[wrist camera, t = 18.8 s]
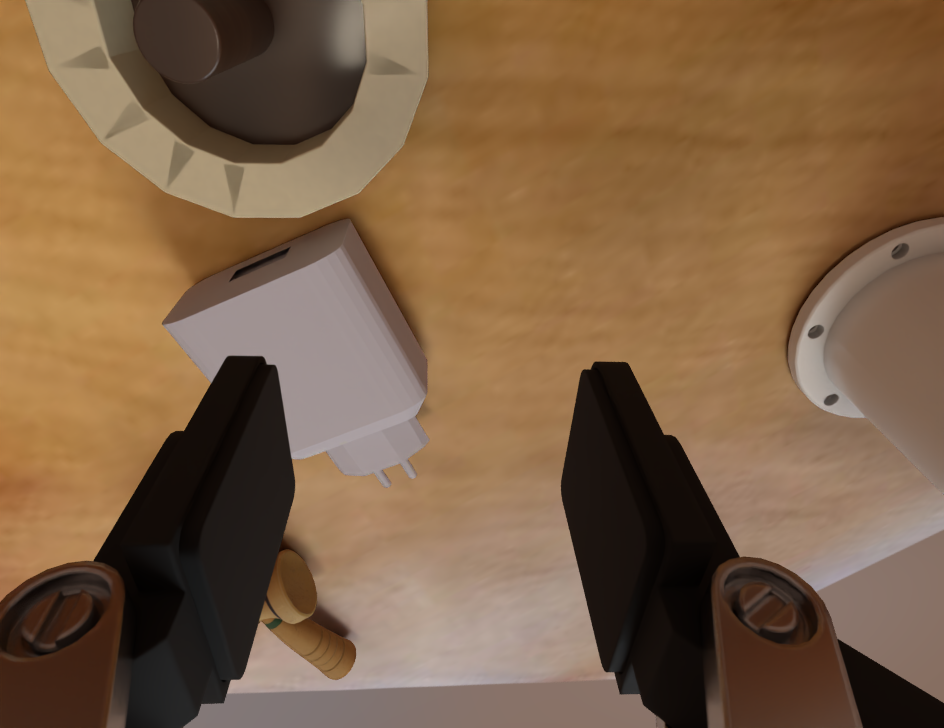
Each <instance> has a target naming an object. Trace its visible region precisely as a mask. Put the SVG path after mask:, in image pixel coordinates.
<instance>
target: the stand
mask: <svg viewBox="0 0 944 728" xmlns="http://www.w3.org/2000/svg"><path fill="white" fill-rule="evenodd" d="M131 2H132V6H133V10H134V17H133V31H134V36H135V39H136V43H137V45H138V47H139V50H140V51H141V53H142V55H143V56H144V58H145V59H146V61H147V62H148V63H149V64H150V65H151V66H152V67H153V68H154V69H155V70H156V71H157V72H158V73H159V74H160V76H161V77H162V79H163V81H164V82H165V84H166V85H167V87H168V89H169V90H170V92H171V93H172V95H174V96H175V97H176V98H177V99H178V100H179V101H181V102H182V103H183V104H184V105H185V106H186V107H188V108H189V109H190V110H191V111H192V112H193V113H195V114H196V115H197V116H198V117H199V118H200V119H202V120H203V121H204V122H205V123H206V124H207V125H208V126H210V127H211V128H214V129H216V130H219V131H221V132H224V133H226V134H229V135H231V136H234V137H236V138H239V139H241V140H244V141H246V142H249V143H251V144H262V145H296V144H298V143H300V142H303V141H305V140H307V139H310V138H312V137H314V136H316V135H319V134H321V133H323V132H325V131H328V130H330V129H332V128H333V127H334V126H335V124H336V123H337V122H338V121H339V120H340V119H341V117H342V116H343V115H344V114H345V113H346V112H347V111H348V109H349V108H350V107H351V106H352V105H353V104H354V101H355V97H356V94H357V91H358V88H359V84H360V81H361V78H362V75H363V72H364V68H365V65H366V47H365V32H364V17H363V4H362V2H361V0H131Z"/></svg>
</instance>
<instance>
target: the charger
mask: <svg viewBox="0 0 944 728" xmlns="http://www.w3.org/2000/svg"><path fill="white" fill-rule="evenodd" d="M162 325H163V326H164V327H165V328H166V329H167V331H168V332H169V333H170V334H171V335H172V337H173V338H174V339H175V340H176V341H177V343H178V344H179V345H180V346H181V347H182V349H183V350H184V351H185V352H186V353H187V355H188V356H189V357H190V358H191V359H192V361H193V362H194V363H195V364H196V365H197V367H198V368H199V369H200V370H201V372H202V373H203V374H204V375H205V376H206V378H207V379H208V380H209V381H210V382H211V383H212V381H213V379H214V378H215V376H216V374H217V372H218V371H219V369H220V367H221V365H222V364H223V362H224V360H225V359H226V357H227V356H263V357H264V358H265V360H266V363H267V364H268V365H276V367H277V370H278V375H279V381H280V388H281V394H282V401H283V407H284V413H285V420H286V426H287V432H288V439H289V445H290V452H291V458H292V459H304V458H307V457H310V456H313V455H316V454H318V453H321V452H324V451H326V453H327V454H328V455H329V457H330V458H331V459H332V461H333V462H334V463H335V465H336V466H337V467H338V469H339V470H340V471H341V472H342V473H343V474H345V475H353V476H366V475H369V474H372V473H374V474H375V475H376V477H377V478H378V480H379V481H380V482H381V484H382V485H383V487H386V488H387V487H389V486H390V485H391V482H390V480H389V479H388V477H387V476H386V474H385V473H384V472H383V469H386V468H389V467H391V466H394V465H397V464H401V466H402V467H403V469H404V470H405V472H406V473H407V475H408V476H409V478H415V477H416V476H417V473H416V471H415V469H414V468H413V466H412V465H411V463H410V462H409V460H408V458H409V457H411V456H412V455H414V454H415V453H416V452H418V451H419V450H420V449H422V448H423V447H424V446H425V445H426V444H427V443H428V441H429V438H428V437H427V435H426V433H425V432H424V430H423V428H422V427H421V425H420V423H419V422H418V420H417V418H416V417H415V416H416V415H417V413H418V411H419V409H420V407H421V405H422V403H423V401H424V399H425V397H426V395H427V358H426V357H425V355H424V353H423V351H422V349H421V348H420V346H419V344H418V342H417V340H416V338H415V337H414V335H413V333H412V331H411V329H410V328H409V326H408V324H407V322H406V320H405V319H404V317H403V315H402V313H401V311H400V309H399V308H398V306H397V304H396V302H395V300H394V299H393V297H392V295H391V293H390V291H389V289H388V288H387V286H386V284H385V282H384V280H383V279H382V277H381V275H380V273H379V271H378V269H377V268H376V266H375V264H374V262H373V260H372V259H371V257H370V255H369V253H368V251H367V250H366V248H365V246H364V244H363V242H362V240H361V239H360V237H359V235H358V233H357V231H356V230H355V228H354V226H353V224H352V222H351V220H350V219H343V220H340V221H337V222H334V223H331V224H328V225H326V226H324V227H321V228H319V229H317V230H314V231H312V232H310V233H307V234H305V235H303V236H301V237H298V238H296V239H294V240H291V241H289V242H287V243H285V244H282V245H280V246H278V247H276V248H273V249H271V250H269V251H266V252H264V253H262V254H260V255H257V256H255V257H253V258H251V259H248V260H246V261H244V262H241V263H239V264H237V265H235V266H232V267H230V268H228V269H226V270H223V271H221V272H219V273H217V274H214V275H212V276H210V277H208V278H206V279H204V280H203V281H201V282H199V283H197V284H196V285H194V286H193V287H191V288H190V289H188V290H187V291H186V292H185V293H184V295H183V296H182V297H181V299H180V300H179V301H178V302H177V304H176V305H175V306H174V308H173V309H172V310H171V312H170V313H169V314H168V315H167V317H166V318H165V319H164V321H163V322H162Z"/></svg>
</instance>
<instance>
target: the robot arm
mask: <svg viewBox="0 0 944 728" xmlns="http://www.w3.org/2000/svg"><path fill="white" fill-rule="evenodd" d="M788 364H789V368H790V371H791V375H792V378H793V379H794V381H795V383H796V384H797V386H798V387H799V389H800V390H801V391H802V392H803V393H804V394H805V395H806V396H807V397H808V399H809V400H810V401H811V402H812V403H814V404H815V405H816V406H818V407H819V408H821V409H823V410H825V411H828V412H830V413H833V414H836V415H839V416H845V417H852V418H867V419H868V420H869V421H870V422H871V423H872V424H873V425H874V426H875V427H876V428H877V429H878V430H879V431H880V432H881V433H882V434H883V435H884V436H885V437H886V438H887V439H888V440H889V441H890V442H891V443H892V444H893V445H894V446H895V447H896V448H897V449H898V450H899V451H900V452H901V453H902V454H903V455H904V456H905V457H906V458H907V459H908V460H909V461H910V462H911V463H912V464H913V465H914V466H915V467H916V468H917V469H918V470H919V471H920V472H921V473H922V474H923V475H924V476H925V477H926V478H927V479H928V480H929V481H930V482H931V483H932V484H933V485H934V486H935V487H936V488H937V489H938V490H939V491H940V492H941V493H942V494H943V495H944V217H939V218H933V219H928V220H922V221H917V222H914V223H911V224H908V225H905V226H902V227H899V228H896V229H893V230H891V231H889V232H887V233H885V234H883V235H881V236H879V237H877V238H875V239H873V240H871V241H869V242H867V243H866V244H865V245H863V246H862V247H860V248H859V249H857V250H856V251H854V252H853V253H851V254H850V255H848V256H847V257H846V258H845V259H843V260H842V261H841V262H840V263H839V264H838V265H837V266H835V267H834V268H833V269H832V270H831V271H830V272H829V273H828V274H827V275H826V276H825V277H824V278H823V279H822V281H821V282H820V283H819V284H818V285H817V286H816V287H815V289H814V290H813V291H812V292H811V294H810V296H809V297H808V299H807V300H806V302H805V303H804V305H803V306H802V308H801V309H800V311H799V314H798V316H797V318H796V321H795V323H794V325H793V327H792V331H791V335H790V340H789V344H788ZM294 492H295V477H294V471H293V464H292V458H291V452H290V445H289V439H288V432H287V426H286V420H285V413H284V407H283V401H282V394H281V388H280V381H279V375H278V370H277V367H276V365H268V364H267V363H266V360H265V358H264V357H263V356H227V357H226V359H225V360H224V362H223V364H222V365H221V367H220V369H219V371H218V372H217V374H216V376H215V378H214V379H213V381H212V383H211V385H210V386H209V388H208V390H207V392H206V393H205V395H204V397H203V399H202V400H201V402H200V404H199V406H198V407H197V409H196V411H195V413H194V415H193V416H192V418H191V420H190V422H189V423H188V425H187V427H186V429H185V430H184V431H175V432H173V433H171V434H170V435H169V437H168V438H167V439H166V440H165V442H164V444H163V445H162V447H161V449H160V450H159V452H158V454H157V455H156V457H155V459H154V460H153V462H152V464H151V465H150V467H149V469H148V470H147V472H146V474H145V475H144V477H143V479H142V480H141V482H140V484H139V485H138V487H137V489H136V490H135V492H134V494H133V496H132V497H131V499H130V501H129V502H128V504H127V506H126V507H125V509H124V511H123V512H122V514H121V516H120V517H119V519H118V521H117V522H116V524H115V526H114V527H113V529H112V531H111V532H110V534H109V536H108V537H107V539H106V541H105V542H104V544H103V546H102V547H101V549H100V551H99V552H98V554H97V556H96V557H95V559H94V561H81V562H72V563H66V564H63V565H60V566H57V567H54V568H51V569H47V570H45V571H43V572H41V573H40V574H38V575H36V576H34V577H32V578H30V579H28V580H26V581H25V582H23V583H22V584H21V585H19V586H18V587H17V588H15V589H14V590H13V591H11V592H10V593H9V594H7V595H6V597H5V598H4V599H3V600H2V601H1V602H0V728H183V727H184V726H185V725H186V724H187V723H189V722H190V721H191V720H193V719H194V718H195V717H196V716H197V715H198V713H199V710H200V706H201V704H214V703H224V701H225V697H226V694H227V691H228V687H229V684H230V681H231V680H239V679H241V678H242V676H243V674H244V672H245V669H246V666H247V662H248V658H249V655H250V651H251V648H252V644H253V641H254V637H255V634H256V630H257V627H258V623H259V619H260V616H261V612H262V609H263V605H264V602H265V598H266V595H267V591H268V587H269V584H270V580H271V577H272V573H273V570H274V566H275V563H276V559H277V556H278V552H279V548H280V545H281V541H282V538H283V534H284V531H285V527H286V524H287V520H288V517H289V513H290V509H291V506H292V502H293V498H294ZM561 495H562V501H563V505H564V509H565V514H566V518H567V522H568V526H569V530H570V534H571V539H572V543H573V547H574V551H575V555H576V560H577V564H578V568H579V572H580V576H581V580H582V585H583V589H584V593H585V597H586V601H587V606H588V610H589V614H590V618H591V622H592V626H593V631H594V635H595V639H596V643H597V647H598V652H599V656H600V660H601V663H602V667H603V669H604V671H605V672H614V673H615V677H616V681H617V685H618V688H619V692H620V694H640V695H641V699H642V702H643V705H644V706H645V707H646V708H648V709H649V710H650V711H651V712H653V713H654V714H655V715H656V728H944V703H943V702H941V701H939V700H938V699H936V698H935V697H933V696H931V695H930V694H928V693H926V692H925V691H923V690H921V689H919V688H918V687H916V686H915V685H913V684H911V683H910V682H908V681H906V680H905V679H903V678H901V677H900V676H898V675H896V674H895V673H893V672H892V671H889V670H888V669H886V668H885V667H883V666H881V665H880V664H878V663H877V662H875V661H873V660H872V659H870V658H868V657H867V656H865V655H863V654H862V653H860V652H858V651H857V650H855V649H853V648H852V647H850V646H849V645H847V644H845V643H843V642H842V641H840V640H839V639H837V637H836V633H835V630H834V626H833V623H832V619H831V617H830V614H829V612H828V610H827V608H826V606H825V604H824V602H823V600H822V599H821V598H820V597H819V595H818V594H817V593H816V592H815V590H814V589H813V588H812V587H811V586H810V585H809V584H808V583H806V582H805V581H804V580H803V579H802V578H800V577H799V576H798V575H797V574H795V573H793V572H792V571H790V570H788V569H786V568H784V567H783V566H781V565H779V564H776V563H773V562H770V561H767V560H764V559H761V558H753V557H740V556H739V555H738V553H737V551H736V549H735V547H734V545H733V543H732V541H731V539H730V537H729V535H728V534H727V532H726V530H725V528H724V526H723V524H722V522H721V520H720V518H719V516H718V515H717V513H716V511H715V509H714V507H713V505H712V503H711V501H710V499H709V497H708V495H707V494H706V492H705V490H704V488H703V486H702V484H701V482H700V480H699V478H698V476H697V475H696V473H695V471H694V469H693V467H692V465H691V463H690V461H689V459H688V457H687V455H686V454H685V452H684V450H683V448H682V446H681V444H680V443H679V441H678V440H677V438H676V437H674V436H672V435H664V434H663V432H662V430H661V428H660V426H659V424H658V422H657V420H656V418H655V416H654V414H653V412H652V410H651V408H650V406H649V404H648V402H647V400H646V398H645V396H644V394H643V392H642V390H641V388H640V386H639V384H638V382H637V380H636V378H635V376H634V374H633V372H632V370H631V368H630V366H629V365H628V363H626V362H594V363H593V365H592V368H591V370H583V371H582V373H581V376H580V381H579V386H578V392H577V397H576V403H575V408H574V414H573V419H572V425H571V430H570V436H569V441H568V447H567V452H566V457H565V463H564V468H563V474H562V480H561Z"/></svg>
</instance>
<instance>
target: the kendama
mask: <svg viewBox="0 0 944 728" xmlns="http://www.w3.org/2000/svg"><path fill="white" fill-rule="evenodd" d="M316 604H317V592H316V587H315V583H314V580H313V577H312V574H311V572H310V570H309V568H308V567H307V565H306V563H305V562H304V560H303V559H302V558H301V557H300V556H299V555H298V554H297V553H296V552H294V551H292V550H288V549H287V550H283V551H281V552H278V556H277V559H276V563H275V566H274V570H273V573H272V577H271V580H270V584H269V587H268V591H267V595H266V598H265V602H264V605H263V609H262V612H261V616H260V619H259V623H260V621H262V622H263V623H264V624H265V625H266V626H267V627H268V628H269V629H270V630H271V631H272V632H273V633H274V634H275V635H276V636H277V637H278V638H279V639H280V640H281V641H282V642H284V643H285V644H286V645H287V646H288V647H290V648H291V649H292V650H294V651H295V652H296V653H298V654H299V655H300V656H302V657H303V658H304V659H306V660H307V661H308V662H310V663H311V664H312V665H314V666H315V667H316V668H318V669H319V670H320V671H321V672H322V673H323V674H325V675H326V676H327V677H328V678H330V679H333V680H338V679H341V678H343V677H344V676H345V675H347V674H348V673H349V671H350V670H351V668H352V667H353V664H354V662H355V659H356V648H355V646H354V644H353V643H352V642H351V641H350V640H347V639H345V638H344V637H341V636H339V635H337V634H335V633H333V632H332V631H330V630H328V629H326V628H324V627H323V626H321V625H319V624H317V623H316V622H314V621H312V620H310V619H308V617H310V616H311V615H312V614H313V613H314V611H315V608H316ZM259 623H258V624H259Z"/></svg>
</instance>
